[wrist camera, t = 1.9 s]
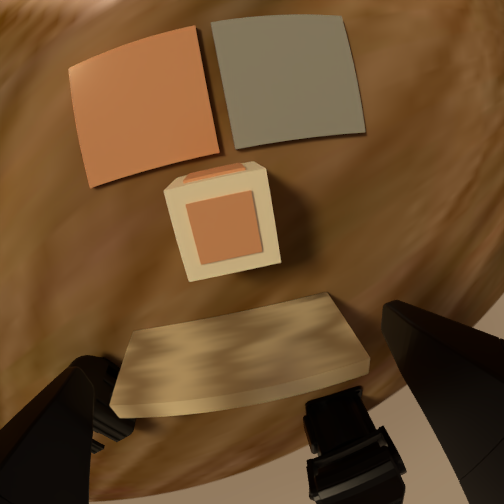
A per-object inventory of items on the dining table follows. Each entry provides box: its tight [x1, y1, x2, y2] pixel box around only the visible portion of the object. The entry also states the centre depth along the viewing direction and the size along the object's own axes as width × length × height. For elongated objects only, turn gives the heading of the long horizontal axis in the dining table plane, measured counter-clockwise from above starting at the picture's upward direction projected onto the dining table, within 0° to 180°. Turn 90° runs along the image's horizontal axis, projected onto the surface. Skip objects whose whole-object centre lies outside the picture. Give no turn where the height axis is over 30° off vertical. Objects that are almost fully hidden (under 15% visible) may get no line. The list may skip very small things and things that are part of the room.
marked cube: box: [164, 161, 281, 282], centre depth 16 cm, size 5×5×5 cm
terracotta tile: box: [69, 26, 220, 188], centre depth 15 cm, size 9×9×1 cm
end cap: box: [69, 355, 136, 454], centre depth 20 cm, size 10×7×7 cm
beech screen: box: [109, 292, 370, 418], centre depth 19 cm, size 16×4×8 cm, turn 100°
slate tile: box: [211, 15, 365, 149], centre depth 16 cm, size 9×9×1 cm
